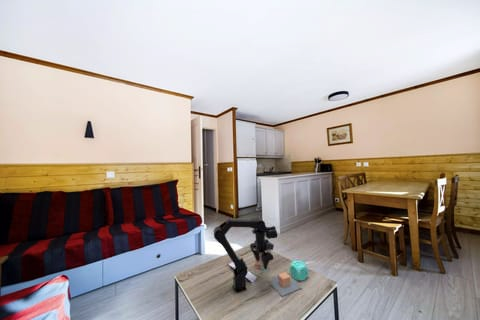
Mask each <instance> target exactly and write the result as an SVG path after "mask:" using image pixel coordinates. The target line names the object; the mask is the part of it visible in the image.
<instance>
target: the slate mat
mask: <svg viewBox="0 0 480 320" xmlns="http://www.w3.org/2000/svg"><path fill="white" fill-rule="evenodd" d="M267 283H268V284H270V285H271V286H272V288H273V289H274V290H275V291H276V293H277V294H279V296H280V297H282V298H283V297H285V296H288V295H290V294H292V293H295V292H298V291H300V290H302V289H303V287H302V286H300V285H299V283H297V282H296V281H295V279H293V277H292V278H291V277H290V286H287V287H285V288H283V287H282V286H281V285H280V284H279V283H278V276H277V277H274V278H271V279H269V280H267Z"/></svg>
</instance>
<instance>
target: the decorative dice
mask: <svg viewBox="0 0 480 320" xmlns="http://www.w3.org/2000/svg"><path fill="white" fill-rule="evenodd" d="M308 270H309V269H308V267H307V265H306V264H305V262H303V261H301V260H294V261H292V262H291V263H290V266H289V272H290V274H291V276H292V279H293V278H294V279H293V280H296V281H300V282H301V281H305V280H306V279H307V278H308V276H309V271H308Z"/></svg>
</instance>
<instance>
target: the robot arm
mask: <svg viewBox="0 0 480 320" xmlns="http://www.w3.org/2000/svg"><path fill="white" fill-rule="evenodd" d="M231 228H252V230H251V233H252V234H254V235H255V237H254V238H255V240H254V242H253V243H251V244H250V245H249V248H250V250H251V252H252V254H253V257H254V258H256V260H257V262H259V253H261V254H262V255H261V261H262V264H263V266H264V270H265V271H266V270H267V268H268V265H269V262H270V261H273V260H274V255H273V254H272V252H271V253H269V252H265V251H268V249H269V250H271V251H273V250H274V248H275V245H274V244H273V243H272V242H270V241H269V239H271V240H272V239H277V238H278V232H277V228H276V227H275V225H274V226H266V223H265V221H264V220H263V218H261V217H255V218H254V217H253V218H251V219H239V218H237V219H235V218H228V219H226V220H225V221H224V222H222V223H221V224H219V225H218V226H216V227H214V229H213V236H214V237H213V238H214V240H215V241H216V242H218V244H220V245H221V246H222V247H223V249H224V250H225V252H226V253H227V255H228V257H229V258H230V260H231V261H232V263H233V265H234V267H235V268H233V270H232V272H233V275H234V276H233V277H232V278H233V280H232V281H233V284H232V288H233V290H234V291H235V293H236V294H237V293H240V292H243V291H246V290H247V287H246V286H247V282H246V281H247V279H246V276H247V275H248V273H249V271H248V265H247V263H246V261H244V258H243V257H241V258H240V257H239V256H238V255H237V252H236V251H235V249H234V248H233V246H232V245H231V243H230V241H229V240H228V239H227V237H226V234H227V233H228V232H229V231H230V229H231Z"/></svg>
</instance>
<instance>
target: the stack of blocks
mask: <svg viewBox="0 0 480 320" xmlns="http://www.w3.org/2000/svg"><path fill="white" fill-rule="evenodd" d="M265 252H269V253H271V254H272V250H269V249H268V251H265ZM261 255H262V254H261V253H259V262H257V260H256V258H255V257H254V258H255V268H256V269H259V270H265V269H264V266H263V264H262V261H261Z"/></svg>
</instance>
